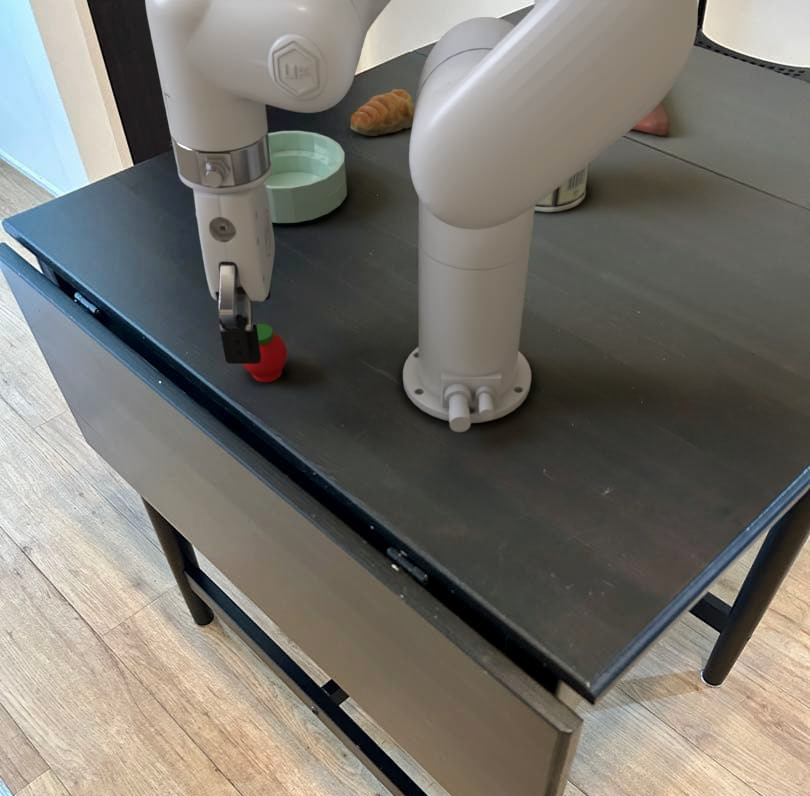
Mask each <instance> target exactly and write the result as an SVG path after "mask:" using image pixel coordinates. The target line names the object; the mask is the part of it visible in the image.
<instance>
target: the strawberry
mask: <svg viewBox="0 0 810 796" xmlns="http://www.w3.org/2000/svg"><path fill="white" fill-rule="evenodd" d="M255 325H257V332H258V339H259V346H260V353H261V362H260V363H258V364H242V365H243V367H244V368H245V370H247V372H248V373H250V374H251V376H252V378H253V379H254V380H256V382H260V383H270V382H274V381H276V380H278V378H280V377H281V376H282V372H283V369H284V367H285V365H286V362H287V359H288V349H287V346H286V344H285V341H284V340H283V339H282V338H281V336H280V335H279V334H277V333H276V332H275V331H274V329H273V327H272V326H271V325H268V324H266V323H256V324H255Z"/></svg>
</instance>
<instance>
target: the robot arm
mask: <svg viewBox="0 0 810 796" xmlns="http://www.w3.org/2000/svg"><path fill="white" fill-rule="evenodd" d="M391 1H392V0H144V4H145V10H146V16H147V17H146V18H147V22H148V27H149V31H150V38H151V43H152V47H153V53H154V57H155V62H156V68H157V72H158V77H159V83H160V88H161V92H162V97H163V98H162V99H163V104H164V107H165V108H164V109H165V112H166V117H167V118H166V119H167V123H168V128H169V133H170V134H169V135H170V139H171V143H172V149H173V154H174V158H175V164H176V168H177V174H178V177H179V180H180V181H181V182H182V183H183V184H184V185H185V186H187V187H189V188H190V189H192V192H193V198H194V199H193V200H194V208H195V217H196V223H197V228H198V236H199V242H200V249H201V254H202V260H203V265H204V272H205V276H206V281H207V286H208V290H209V293H210V296H211V298H212V299H213V300H214V301H216V302H218V323H219V332H220V337H221V343H222V348H223V353H224V361H225V362H226V363H227V364H230V365H231V364H232V365H235V364H236V365H237V364H239V365H241V364H242V365H243V364H258V363H260V362H261V353H260V346H259V339H258V332H257V325H256V324H254V317H253V316H254V315H253V313H254V312H253V302H259V303H263V302H264V301H268V300H270V298H271V281H272V275H273V270H274V269H273V268H274V261H275V254H276V253H275V252H276V241H275V240H276V239H275V234H274V233H275V232H274V227H273V226H274V225H273V222H272V220H271V213H270V207H269V200H268V193H267V187H266V181H265V180H266V179H267V178H268V177H269V176H270V174H271V171H272V165H271V155H270V145H269V136H268V133H269V128H268V118H267V110H266V109H267V107H266V105H268V106H271V107H275V108H278V109H282V110H285V111H289V112H296V113H303V114H304V113H305V114H313V113H320V112H324V111H327V110H330V109H331V108H333V107H335V106H336V105H337V104H339V103H340V102H341V101H342V100H343V99H344V98H345V96H346V95H347V94H348V91H350V88H351V87H352V84H353V82H354V80H355V76H356V72H357V69H358V66H359V64H360V63H359V62H360V60H361V55H362V51H363V47H364V44H365V41H366V38H367V35H368V32H369V30H370V28H371V27H372V26H373V24H374V23H375V21H376V20H377V19H378V18H379V16H380V15H381V13H382V12H383V11H384V10H385V9H386V7H387V6H388V5H389V3H390V2H391ZM698 11H699V10H698V0H534V7H533V8H532V9H531V10H530V11H529V12H528V13H527V14H526V15H525V16H524V17H523V18H522V19H521V20H520V21H519V22H518V23H517V25H515V24H513V23H511V22H510V21H508V20H505V19H502V18H498V17H493V16H478V17H473V18H469V19H466V20H464V21H461V22H459V23H458V24H456V25H454V26H453V27H451V28H450V29H449V30H448V31H446V32H445V33H444V34H442V36H441V37H440V38H439V40H437V42H436V43H435V45H434V46H433V48H432V49H431V51H430V52H429V54H428V55H427V58H426V60H425V62H424V64H423V67H422V70H421V73H420V76H419V81H418V85H417V91H416V97H415V103H414V105H415V108H414V119H413V125H412V126H411V132H410V139H409V146H408V149H409V150H408V151H409V152H408V165H409V171H410V178H411V181H412V184H413V187H414V189H415V192H416V195H417V196H418V238H417V245H418V246H417V261H418V262H417V264H418V265H417V267H418V268H417V269H418V270H417V271H418V272H417V274H418V275H417V276H418V277H417V280H418V281H417V283H418V284H417V285H418V287H417V288H418V289H417V296H418V299H417V301H418V302H417V304H418V305H417V307H418V308H417V309H418V310H417V311H418V312H417V314H418V316H417V317H418V322H417V323H418V325H417V326H418V331H417V332H418V336H417V337H418V346H417V347H416V348H415V349H413V351H412V352H410V354H409V355H408V356H407V359H406V360H405V362H404V365H403V369H402V382H403V388H404V391H405V393H406V395H407V397H408V399H410V401H411V402H412V403H413V404H414V406H416V407H417V408H419V410H421V411H422V412H424V413H426V414H428V415H429V416H432V417H433V418H434V417H435V418H437V419H439V420H443V421H446V422H447V421H448V423H449V428H450V429H451V431H452V432H455V433H464V432H466V431H468V430H469V429H470V427H471V424H476V423H477V424H479V423H485V422H489V421H494V420H497V419H500V418H503V417H504V416H507V415H508V414H511V413H512V412H513V411H515V410H516V409H517V408H519V407H520V406H521V405H522V404H523V403H524V401H525V400H526V399H527V396H528V395H529V392H530V389H531V383H532V370H531V367H530V363H529V362H528V360H527V358H526V357H525V356H524V355H523V353H521V352H520V351H519V348H520V339H521V331H522V323H523V322H522V321H523V314H524V313H523V312H524V304H525V294H526V287H527V277H528V269H529V261H530V252H531V245H532V238H533V228H534V220H535V212H536V211H535V205H536V204H537V203H539V202H540V201H541V200H543V199H544V198H545V197H547V196H548V195H549V194H551V193H552V192H553V191H554V190H556V189H557V188H558V187H559V186H561V185H562V184H563V183H565V182H566V181H567V180H568V179H570V178H571V177H572V176H573V175H575V174H576V173H577V172H579V171H580V170H581V169H582V168H584V167H585V166H586V165H587V164H589V163H591V162H593V161H594V160H595V159H597V158H598V157H599V156H600V155H602V154H603V153H604V152H605V151H606V150H608V149H610V147H611V146H613V144H615V143H616V142H618V141H619V140H620V139H622V137H624V136H625V135H626V134H627V133H629V132H630V131H631V130H633V129H632V128H633V127H635V126H636V125H637V124H638V123H639V122H641V121H642V120H643V119H644V118H645V117H646V116H647V115H648V114H650V113H651V112H652V111H653V110H654V108H655V107H656V106H657V105H658V104H659V103H660V102H661V101H662V102H663V100H664V99H665V97H666V96H667V95H668V94H669V93H670V91H671V90H672V88H673V87H674V85H675V84H676V83H677V81H678V80H679V78H680V76H681V75H682V73H683V71H684V70H685V68H686V65H687V64H688V61H689V59H690V56H691V54H692V51H693V48H694V45H695V42H696V41H695V40H696V36H697V31H698V18H699V16H698V15H699V14H698V13H699V12H698ZM589 165H590V164H589ZM237 303H244V307H243V308H244V315H243V314H241V313H240V314H239V311H238V307H237Z"/></svg>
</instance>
